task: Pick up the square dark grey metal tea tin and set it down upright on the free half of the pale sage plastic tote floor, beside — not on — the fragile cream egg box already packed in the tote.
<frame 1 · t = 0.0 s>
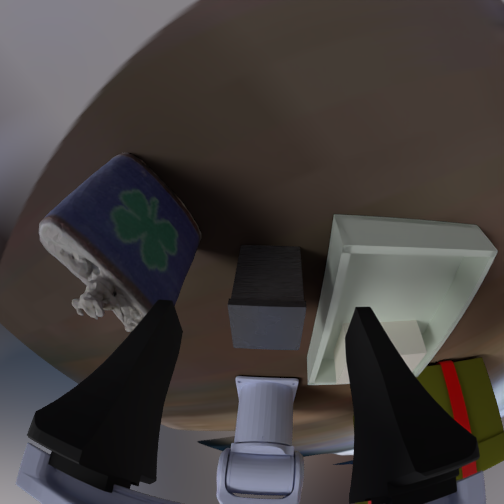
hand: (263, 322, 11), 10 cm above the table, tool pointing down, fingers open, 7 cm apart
tote: (386, 303, 24), on the table
tin: (270, 268, 23), on the table
egg box: (374, 337, 26), point 1 cm above the table, touching tote
flask: (159, 199, 20), on the table
gift box: (415, 387, 36), on the table
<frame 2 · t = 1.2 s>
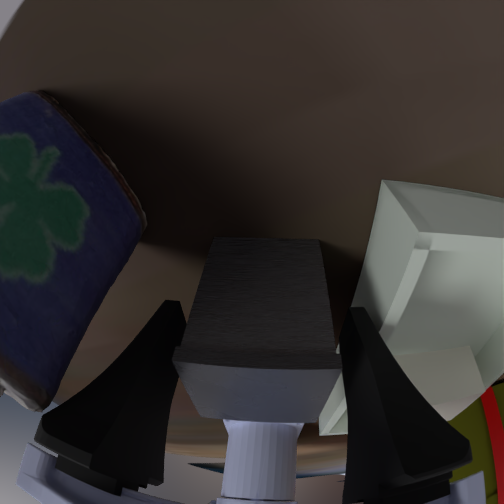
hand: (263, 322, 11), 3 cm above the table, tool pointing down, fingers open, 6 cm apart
tote: (437, 326, 15), on the table
tin: (266, 277, 13), on the table
egg box: (414, 370, 17), point 1 cm above the table, touching tote
flask: (81, 160, 10), on the table, touching gripper
gift box: (442, 414, 27), on the table
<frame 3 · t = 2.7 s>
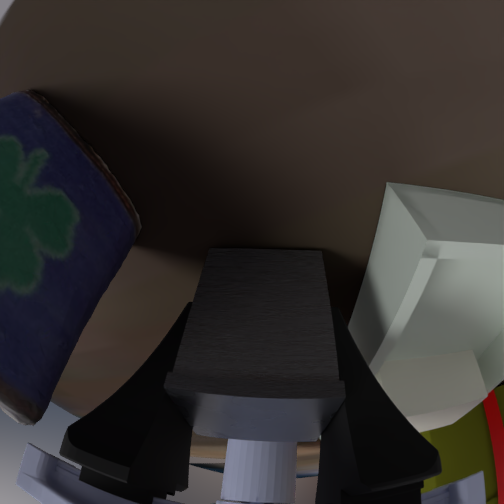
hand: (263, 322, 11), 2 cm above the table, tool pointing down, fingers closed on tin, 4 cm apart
tote: (440, 330, 14), on the table
tin: (265, 289, 13), on the table, touching gripper
egg box: (416, 374, 17), point 1 cm above the table, touching tote
flask: (72, 161, 10), on the table
gift box: (443, 415, 26), on the table
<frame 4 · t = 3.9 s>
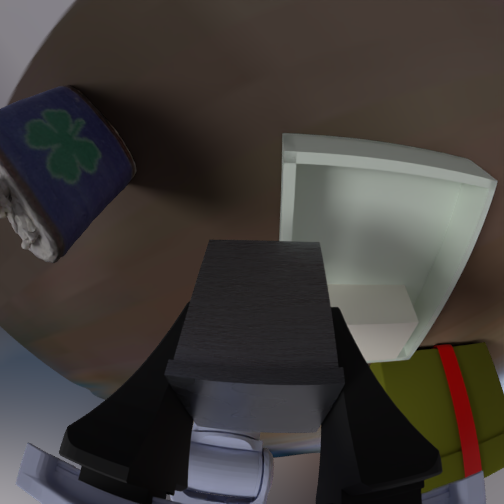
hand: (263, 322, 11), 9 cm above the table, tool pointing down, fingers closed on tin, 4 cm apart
tote: (364, 259, 21), on the table
tin: (264, 281, 13), point 7 cm above the table, touching gripper
egg box: (353, 305, 23), point 1 cm above the table, touching tote
flask: (95, 130, 16), on the table
gift box: (408, 377, 33), on the table
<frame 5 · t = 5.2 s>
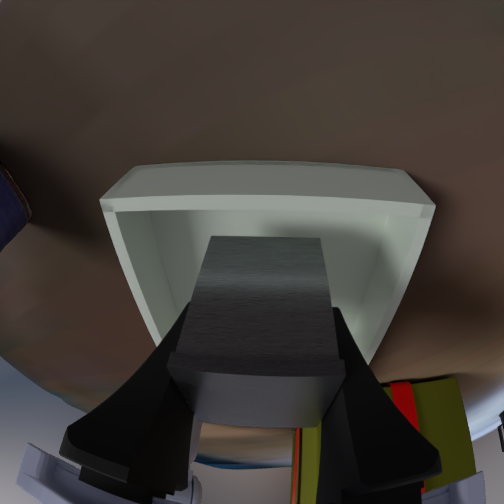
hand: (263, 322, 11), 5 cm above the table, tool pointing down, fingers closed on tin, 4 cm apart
tote: (267, 300, 18), on the table
tin: (265, 277, 13), point 3 cm above the table, touching gripper
gift box: (366, 409, 30), on the table
when the fingers open (3 cm above the table, at t = 6.0 s): tin stays where it is, resting on tote.
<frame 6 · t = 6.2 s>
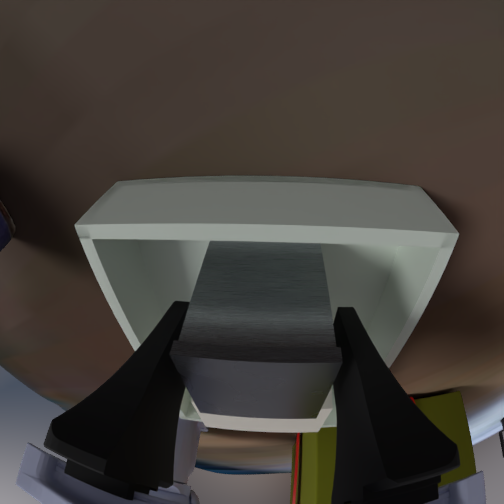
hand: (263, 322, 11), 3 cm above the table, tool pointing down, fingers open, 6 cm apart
tote: (266, 324, 16), on the table
tin: (265, 272, 13), point 1 cm above the table, touching tote
egg box: (265, 369, 19), point 1 cm above the table, touching tote
gift box: (368, 422, 28), on the table
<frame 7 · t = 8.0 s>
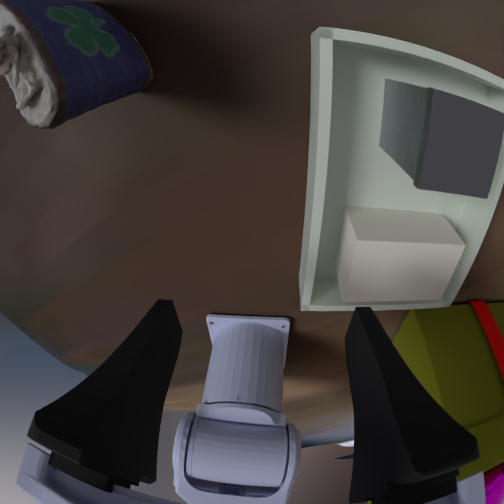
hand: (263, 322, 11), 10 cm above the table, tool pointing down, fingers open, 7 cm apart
tote: (399, 180, 17), on the table
tin: (413, 117, 14), point 1 cm above the table, touching tote
egg box: (389, 238, 20), point 1 cm above the table, touching tote
flask: (112, 42, 13), on the table
gift box: (437, 344, 29), on the table
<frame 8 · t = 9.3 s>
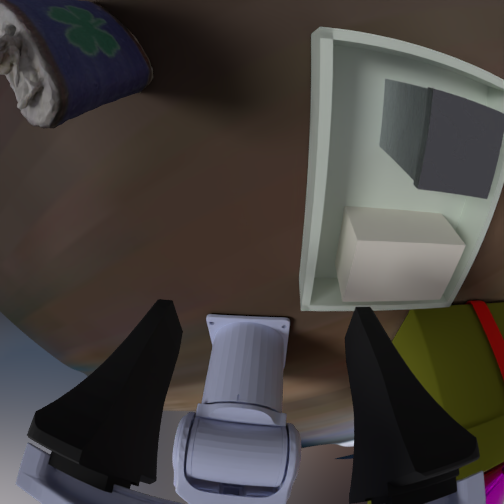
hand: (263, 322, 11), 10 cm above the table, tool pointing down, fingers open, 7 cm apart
tote: (400, 180, 17), on the table
tin: (413, 118, 14), point 1 cm above the table, touching tote
egg box: (389, 238, 20), point 1 cm above the table, touching tote
flask: (112, 42, 13), on the table
gift box: (437, 344, 29), on the table
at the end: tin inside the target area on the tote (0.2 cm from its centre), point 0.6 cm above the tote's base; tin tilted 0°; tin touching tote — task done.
